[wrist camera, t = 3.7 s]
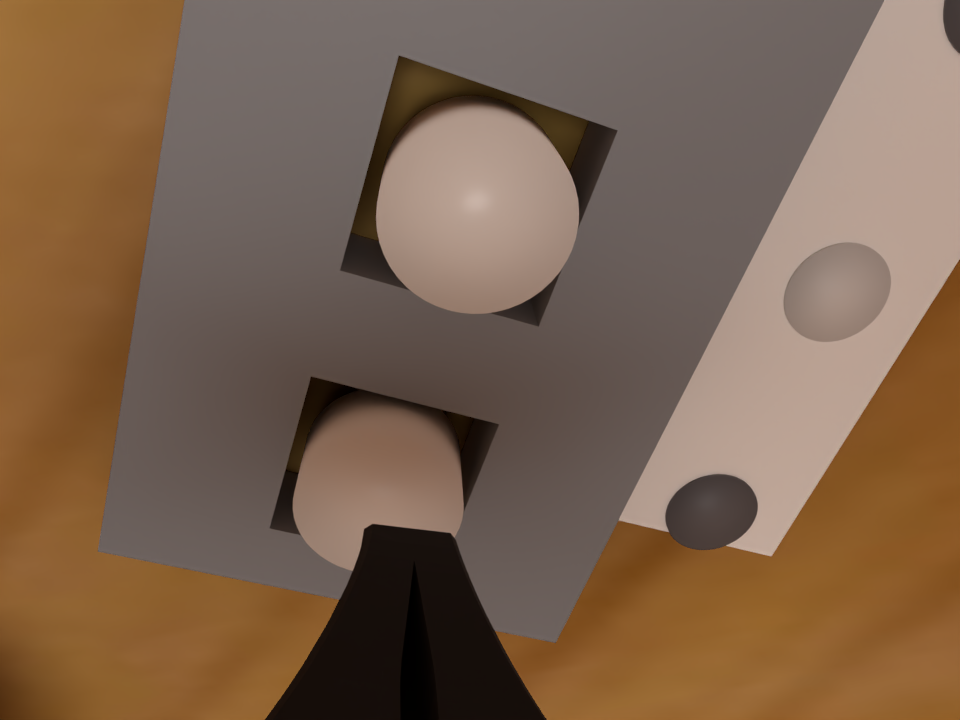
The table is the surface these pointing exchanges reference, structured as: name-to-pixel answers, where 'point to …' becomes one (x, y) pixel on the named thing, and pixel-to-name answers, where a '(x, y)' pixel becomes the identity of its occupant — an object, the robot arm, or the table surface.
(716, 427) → the pattern card
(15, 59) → the table surface
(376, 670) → the robot arm
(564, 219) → the button
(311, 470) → the button
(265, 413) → the button board
